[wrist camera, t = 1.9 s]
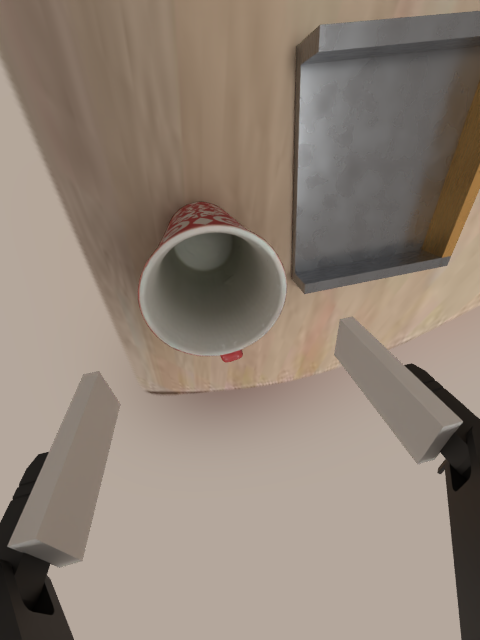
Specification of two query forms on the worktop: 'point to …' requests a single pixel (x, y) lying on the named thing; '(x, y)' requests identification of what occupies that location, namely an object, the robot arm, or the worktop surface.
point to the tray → (384, 147)
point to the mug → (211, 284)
